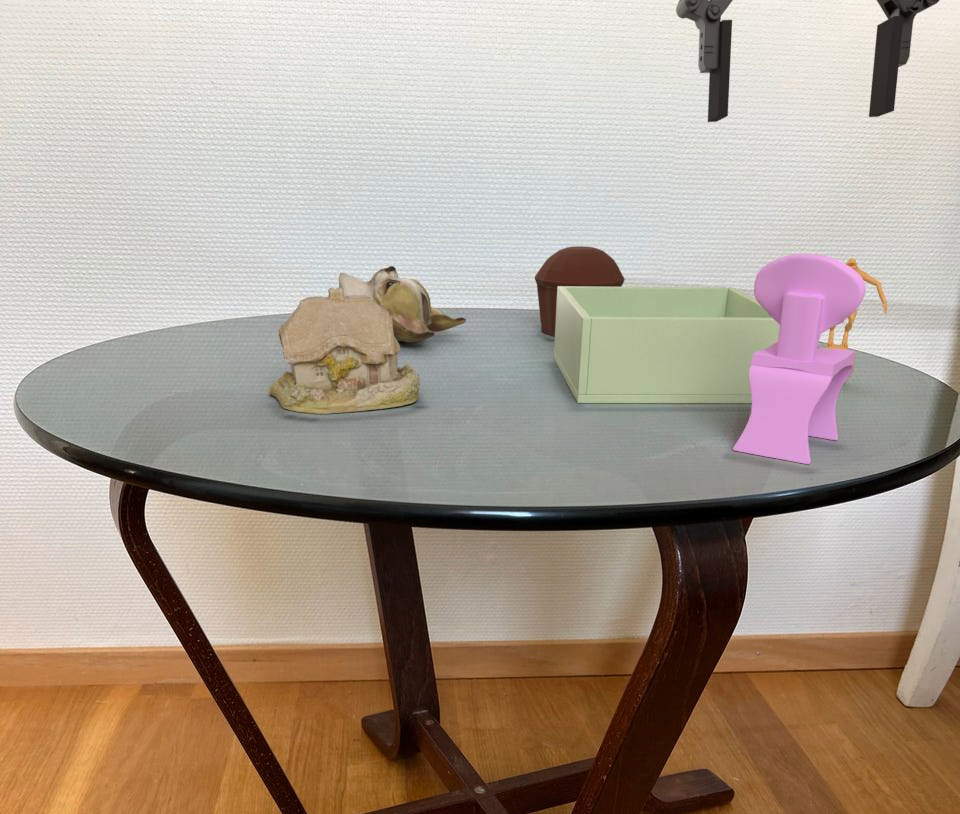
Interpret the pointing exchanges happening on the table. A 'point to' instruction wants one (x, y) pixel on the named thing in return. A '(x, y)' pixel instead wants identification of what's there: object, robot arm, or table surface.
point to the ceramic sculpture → (401, 304)
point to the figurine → (851, 318)
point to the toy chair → (799, 355)
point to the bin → (659, 343)
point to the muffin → (572, 277)
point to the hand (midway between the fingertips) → (799, 117)
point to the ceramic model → (342, 357)
